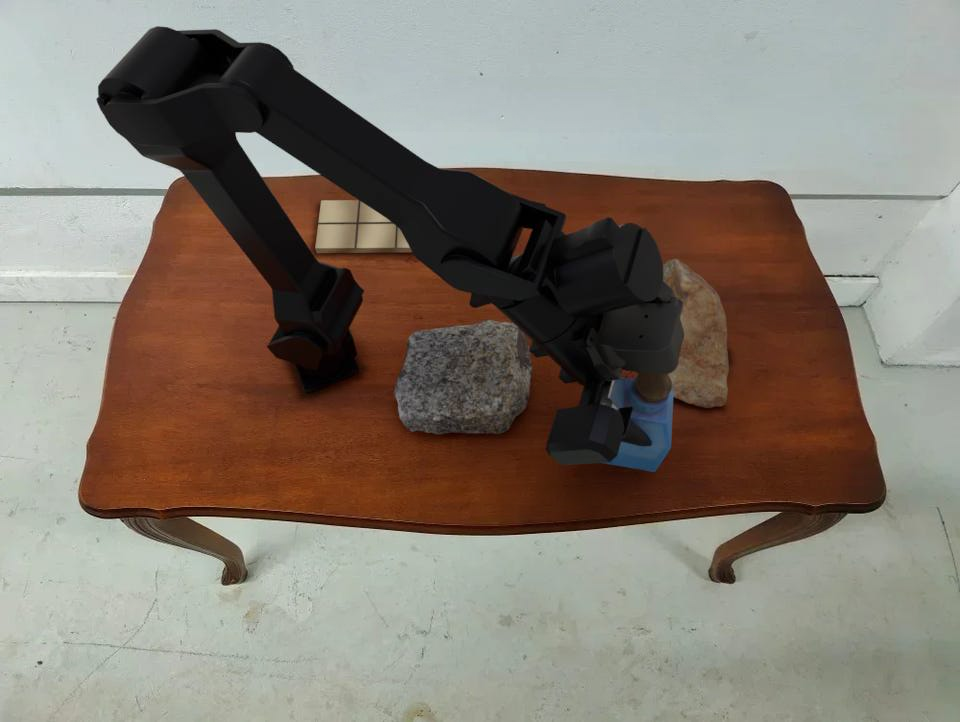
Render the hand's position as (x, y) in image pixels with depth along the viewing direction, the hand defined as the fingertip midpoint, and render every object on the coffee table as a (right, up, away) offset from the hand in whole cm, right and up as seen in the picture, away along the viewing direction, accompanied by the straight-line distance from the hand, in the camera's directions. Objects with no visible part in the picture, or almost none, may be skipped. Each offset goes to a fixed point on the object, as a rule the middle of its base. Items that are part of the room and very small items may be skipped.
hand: (655, 413), depth 66 cm
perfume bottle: (-2, -3, +6) cm, 7 cm away
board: (-27, +22, +25) cm, 43 cm away
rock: (-18, +2, +13) cm, 22 cm away
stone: (+7, +7, +17) cm, 20 cm away
